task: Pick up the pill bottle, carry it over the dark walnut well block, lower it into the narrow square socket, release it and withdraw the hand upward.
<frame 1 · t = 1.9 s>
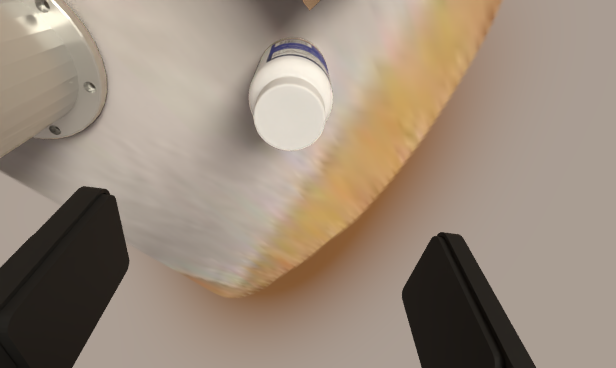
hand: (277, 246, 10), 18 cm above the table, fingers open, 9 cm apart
pill bottle: (293, 71, 25), on the table
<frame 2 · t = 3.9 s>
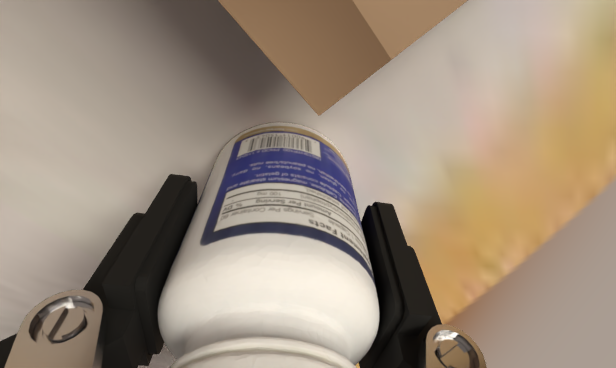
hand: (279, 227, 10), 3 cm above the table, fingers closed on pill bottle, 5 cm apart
pill bottle: (283, 176, 13), on the table, touching gripper
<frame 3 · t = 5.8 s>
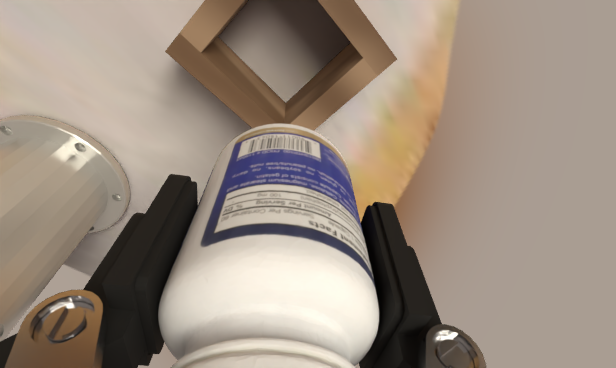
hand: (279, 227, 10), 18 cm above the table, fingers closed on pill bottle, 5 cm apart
pill bottle: (283, 177, 13), point 15 cm above the table, touching gripper
well: (285, 38, 23), on the table
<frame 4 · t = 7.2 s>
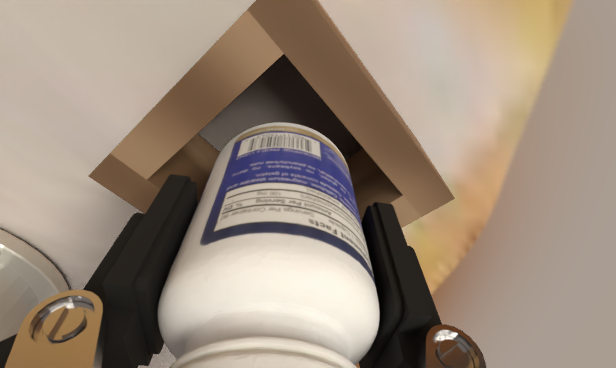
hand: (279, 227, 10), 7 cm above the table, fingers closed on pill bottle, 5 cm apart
pill bottle: (283, 176, 13), point 4 cm above the table, touching gripper
well: (284, 130, 16), on the table
when the fingers open (5 cm above the table, at t = 7.9 s): pill bottle drops 3 cm, resting in well.
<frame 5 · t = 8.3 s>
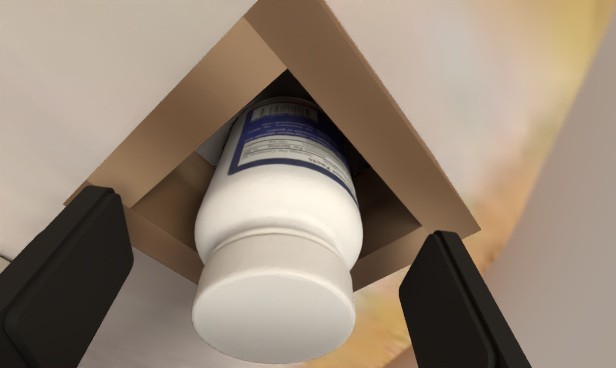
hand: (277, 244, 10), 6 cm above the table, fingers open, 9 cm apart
pill bottle: (287, 145, 15), resting in well
well: (286, 145, 15), on the table
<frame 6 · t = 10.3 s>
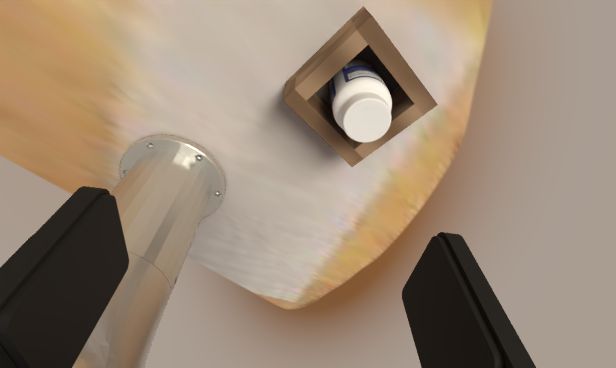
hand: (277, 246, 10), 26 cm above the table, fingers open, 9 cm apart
pill bottle: (354, 83, 33), resting in well
well: (354, 83, 33), on the table
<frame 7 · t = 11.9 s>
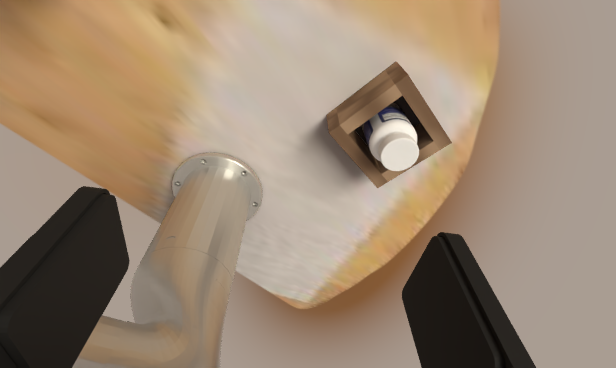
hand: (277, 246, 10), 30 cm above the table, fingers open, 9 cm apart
pill bottle: (381, 119, 40), resting in well
well: (382, 119, 40), on the table
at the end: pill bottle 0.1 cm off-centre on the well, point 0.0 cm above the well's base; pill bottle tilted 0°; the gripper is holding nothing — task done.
